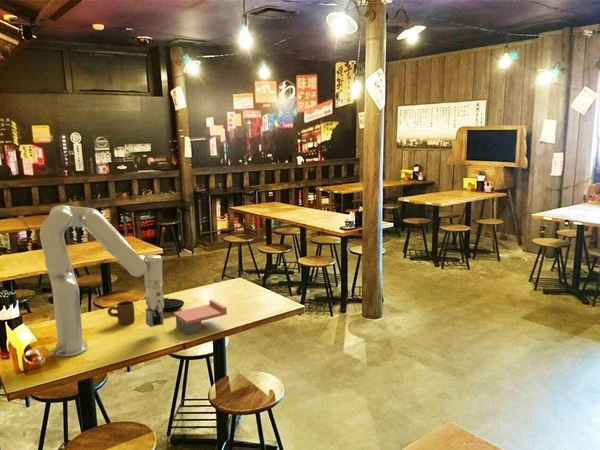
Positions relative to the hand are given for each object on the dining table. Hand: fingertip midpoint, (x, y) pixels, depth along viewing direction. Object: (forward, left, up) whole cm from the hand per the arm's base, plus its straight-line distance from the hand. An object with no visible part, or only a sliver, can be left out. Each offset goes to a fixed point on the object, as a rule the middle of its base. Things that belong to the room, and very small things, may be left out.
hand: (154, 321), depth 221 cm
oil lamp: (+30, +13, -6) cm, 33 cm away
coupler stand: (+15, -15, -6) cm, 22 cm away
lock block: (0, 0, -1) cm, 1 cm away
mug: (+7, +23, -6) cm, 25 cm away
